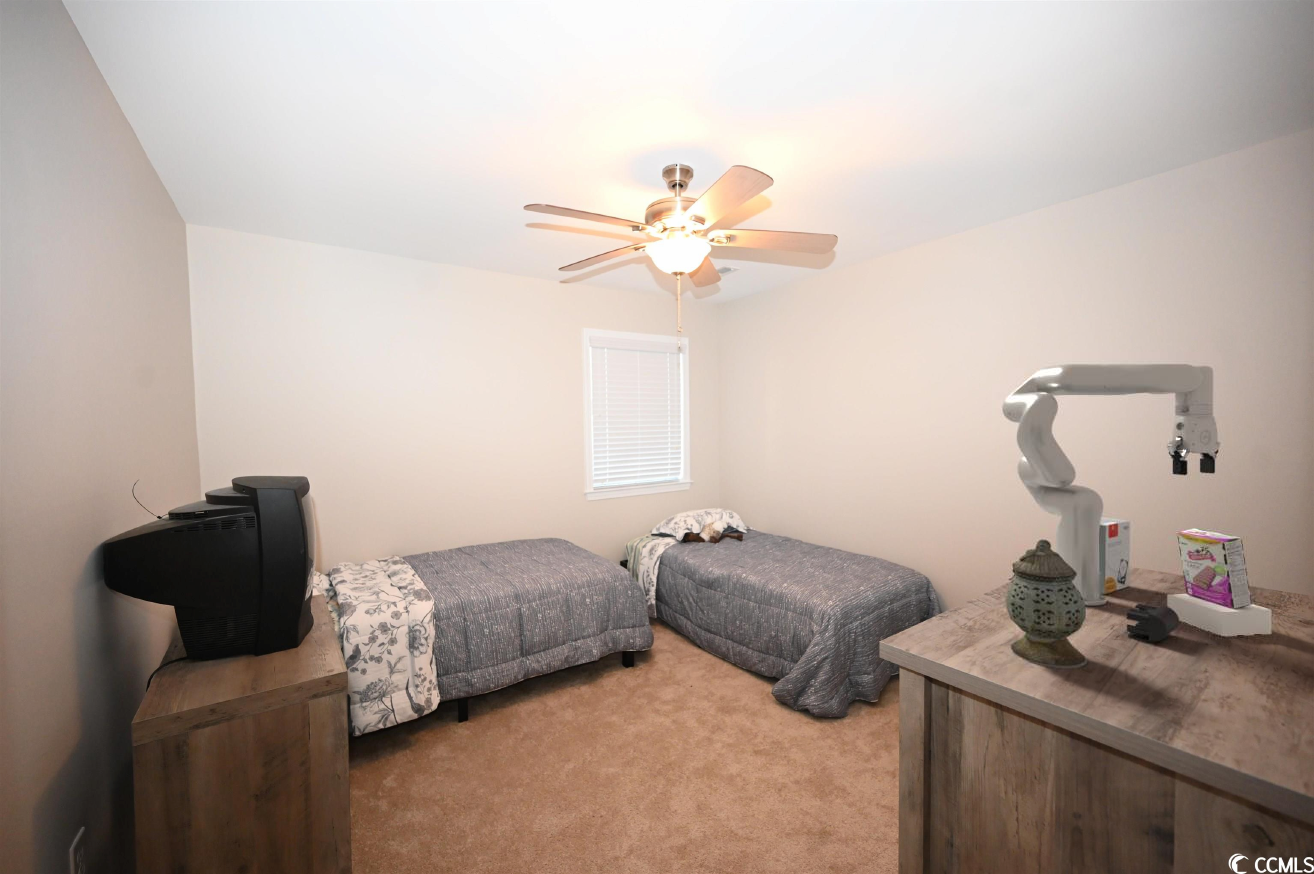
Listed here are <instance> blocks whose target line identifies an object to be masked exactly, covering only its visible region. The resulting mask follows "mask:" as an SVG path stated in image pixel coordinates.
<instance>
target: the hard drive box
mask: <svg viewBox="0 0 1314 874" xmlns="http://www.w3.org/2000/svg"><path fill="white" fill-rule="evenodd" d="M1130 532H1131V520H1128V519H1127V520H1126V519H1118V518H1112V517H1105V516H1104V517H1103V516H1102V517H1101V521H1100V528H1099V594H1101V595H1106V594H1111V593H1113V592H1115V591H1118V590H1119V591H1120V590H1121V589H1125V588H1128V587H1130V555H1131V554H1130V546H1131V545H1130V543H1131V542H1130V541H1131V540H1130V536H1131V533H1130Z"/></svg>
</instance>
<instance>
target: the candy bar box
mask: <svg viewBox="0 0 1314 874" xmlns="http://www.w3.org/2000/svg"><path fill="white" fill-rule="evenodd" d="M1176 535H1177V541H1178V546H1179V547H1178V548H1179V554H1180V560H1181V566H1182V572H1183V579H1184V585H1185V586H1184V587H1185V594H1187V595H1191V596H1194V597H1197V598H1200V599H1203V600H1207V601H1210V602H1213V603H1216V604H1219V605H1223V606H1226V607H1229V608H1232V609H1237V608H1241V607H1245V606H1249V605H1252V604H1253V603H1252V598H1251V597H1252V596H1251V591H1250V590H1251V589H1250V584H1249V577H1248V571H1247V564H1246V558H1245V551H1244V544H1243V538H1242V537H1240V536H1234V535H1231V534H1230V535H1228V534H1225V533H1224V534H1223V533H1221V532H1213V531H1209V530H1204V529H1200V528H1188V529H1185V530H1179V531H1177V532H1176Z"/></svg>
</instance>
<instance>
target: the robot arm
mask: <svg viewBox="0 0 1314 874" xmlns="http://www.w3.org/2000/svg"><path fill="white" fill-rule="evenodd" d="M1145 393H1146V394H1147V393H1148V394H1151V395H1168V394H1169V395H1170V394H1174V421H1173V428H1172V439H1171V440H1170V442H1168V443H1167V444H1166V448H1167V451H1168V455H1169V456H1170V459H1171V460H1172V474H1173V475H1177V476H1186V475H1188V460H1187V457H1188V456H1189V455H1190V453H1191V454H1199V455H1200V456H1201V457H1200V458H1199V473H1202V474H1215V473H1216V459H1217V457H1218V456H1217V454H1218V453H1219V449H1220V446H1221V442H1220V441H1219V437H1218V428H1217V421H1216V419H1215V416H1214V370H1213V368H1212V367H1211V366H1207V365H1195V366H1194V365H1192V364H1187V363H1152V364H1149V363H1148V364H1147V363H1146V364H1140V363H1138V364H1136V363H1135V364H1134V363H1133V364H1132V363H1131V364H1130V363H1125V364H1123V363H1118V364H1117V363H1115V364H1114V363H1111V364H1108V363H1106V364H1102V363H1101V364H1100V363H1099V364H1098V363H1097V364H1090V363H1088V364H1087V363H1086V364H1084V363H1081V364H1080V363H1077V364H1075V363H1074V364H1073V363H1072V364H1071V363H1068V364H1060V365H1059V364H1058V365H1054V366H1053V365H1052V366H1047V367H1043V368H1042V369H1040V370H1038V371H1037V372H1035V373H1034V374H1033V375H1032V376H1030V377H1029V378H1028V379H1026V380H1025V381H1024V382H1023V383H1022V384H1021V385H1020V386H1018V387H1017V388H1016V389H1015V390H1013V391H1012V392H1011V393H1009V395H1008V396H1007V397H1006V398H1005V400H1004V401H1003V403H1002V413H1003V416H1004V417H1005V418H1006V419H1007V420H1008V421H1011V422H1013V423H1018V426H1017V431H1016V443H1017V446H1018V448H1019V450H1020V452H1021V453H1022V455H1023V456H1022V457H1021V458H1020V459H1019V461H1018V462H1017V468H1016V469H1017V474H1018V477H1019V479H1020V481H1021V482H1022V484H1023V485H1024V487H1025V488H1026V489H1027V491H1028V492H1029V494H1030V495H1031V497H1033V500H1034V501H1035V502H1036V504H1037V505H1038V506H1039V507H1040V508H1041V509H1042V511H1045V512H1046V513H1048V514H1050V515H1051V514H1052V515H1054V516H1057V517H1058V516H1059V517H1061V518H1060V521H1059V523H1058V525H1057V529H1056V534H1055V535H1056V536H1055V542H1056V543H1055V544H1056V551H1055V552H1057V553H1058V554H1059V555H1060V556H1061V557H1062V558H1063V560H1064V561H1065V562H1066V563H1067V564H1068V565H1070V566H1071V567H1072V568H1073V569H1074V571H1076V573H1077V575H1076V577H1075V579H1074V580H1073V581H1072V583H1073V584H1074V585H1075V587H1076V588H1077V589H1078V591H1079V592H1080V593H1081V596H1082V598H1083V600H1084V603H1085V605H1086V606H1103V605H1105V604H1107V597H1106V596H1105V595H1104V594H1100V593H1099V528H1100V521H1101V517H1103V512H1104V501H1103V499H1102V497H1101V496H1100V494H1099V493H1098V492H1097V491H1096V490H1093V489H1092V488H1089V487H1087V486H1083V485H1077V484H1073V482H1074V481H1076V476H1077V474H1076V469H1075V467H1074V465H1073V464H1072V462H1071V460H1070V459H1069V458H1068V456H1067V455H1066V454H1065V452H1064V451H1063V449H1062V448H1061V446H1060V445H1059V444H1058V442H1057V440H1056V439H1055V437H1054V434H1053V424H1054V421H1055V418H1056V416H1057V414H1058V410H1059V405H1058V400H1057V398H1056V396H1123V395H1125V396H1126V395H1134V394H1145Z"/></svg>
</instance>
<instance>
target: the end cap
mask: <svg viewBox="0 0 1314 874" xmlns="http://www.w3.org/2000/svg"><path fill="white" fill-rule="evenodd" d="M1134 607H1135V608H1130V609H1128V610H1127V612H1126V620H1129V621H1134V622H1136V623H1135V625H1132V624H1128V623H1127V624H1126V631H1127V638H1128V637H1129V638H1128V639H1132V640H1136V641H1140V640H1141V642H1144V641H1145V643H1148V644H1149V643H1150V644H1154V643H1157V642H1159V641H1162V640H1163V639H1165V638H1166V637H1167V636H1168V635H1170V634H1171V633H1172V632H1173V631H1174V630H1176V628H1178V627H1179V624H1180V621H1179V618H1178V615H1177V614H1176V612H1175V611H1174V610H1172V609H1171V608H1169V607H1167V605H1165V604H1161V605H1159V606H1158V607H1157V606H1154V605H1148V604H1143V603H1138V604H1136V605H1135V606H1134Z"/></svg>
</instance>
